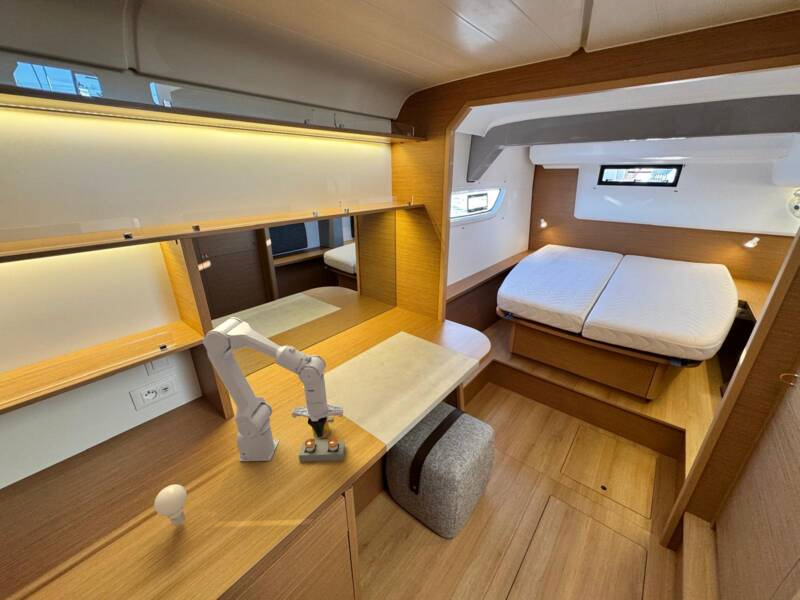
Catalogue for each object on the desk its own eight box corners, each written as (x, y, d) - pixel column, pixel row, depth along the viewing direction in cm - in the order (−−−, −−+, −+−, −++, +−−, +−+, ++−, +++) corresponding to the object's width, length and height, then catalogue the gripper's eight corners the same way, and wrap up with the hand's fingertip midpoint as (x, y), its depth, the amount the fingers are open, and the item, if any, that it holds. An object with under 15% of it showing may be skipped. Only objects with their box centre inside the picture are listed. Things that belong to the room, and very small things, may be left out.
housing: (299, 461, 95) (298, 455, 94) (313, 420, 111) (312, 415, 111) (342, 460, 95) (341, 454, 94) (350, 420, 112) (349, 414, 111)
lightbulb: (199, 509, 81) (188, 477, 78) (184, 534, 76) (172, 502, 72) (174, 510, 81) (162, 478, 78) (157, 536, 75) (143, 503, 72)
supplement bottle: (313, 440, 103) (309, 416, 99) (312, 429, 108) (309, 406, 104) (330, 437, 104) (327, 413, 101) (328, 426, 109) (326, 402, 106)
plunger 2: (328, 456, 96) (326, 445, 94) (330, 448, 99) (328, 438, 97) (338, 456, 96) (336, 445, 94) (339, 448, 99) (338, 438, 97)
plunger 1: (305, 457, 96) (303, 446, 94) (307, 449, 99) (306, 438, 97) (315, 457, 96) (313, 446, 94) (317, 449, 99) (315, 438, 97)
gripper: (286, 406, 86) (292, 445, 91) (339, 406, 86) (342, 444, 91) (293, 391, 93) (299, 427, 98) (343, 390, 93) (346, 426, 98)
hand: (320, 434), depth 95 cm, fingers closed
